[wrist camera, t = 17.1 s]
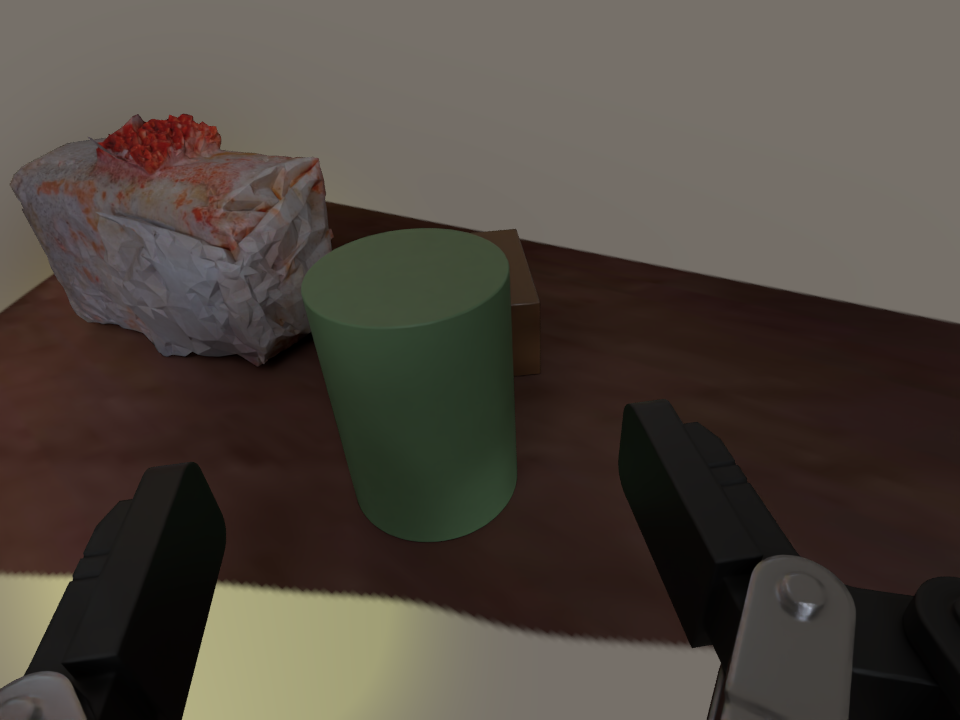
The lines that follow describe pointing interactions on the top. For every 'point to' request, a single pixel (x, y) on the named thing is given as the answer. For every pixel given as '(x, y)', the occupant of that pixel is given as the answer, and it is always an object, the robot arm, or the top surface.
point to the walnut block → (520, 303)
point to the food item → (180, 236)
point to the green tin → (419, 376)
